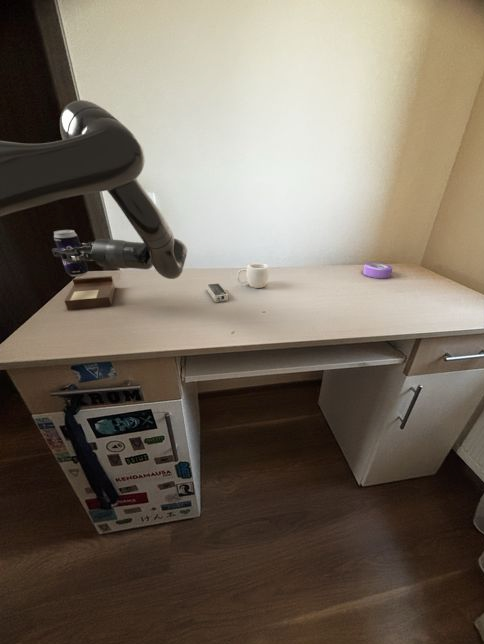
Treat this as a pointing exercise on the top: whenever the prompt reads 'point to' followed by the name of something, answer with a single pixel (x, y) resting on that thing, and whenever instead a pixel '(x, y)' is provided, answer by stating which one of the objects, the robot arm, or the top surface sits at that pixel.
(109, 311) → the top surface
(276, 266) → the top surface
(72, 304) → the wooden serving tray
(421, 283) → the top surface
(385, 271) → the tape roll
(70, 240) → the beverage can
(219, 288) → the multiport hub
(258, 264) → the mug
